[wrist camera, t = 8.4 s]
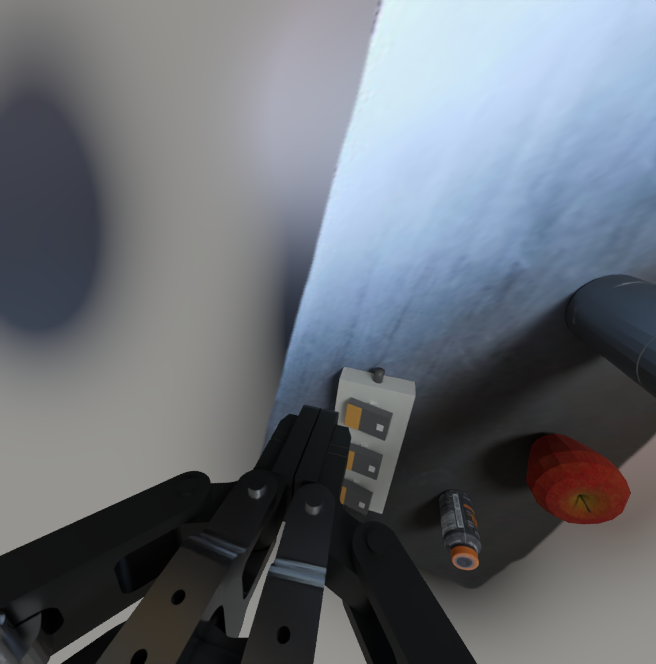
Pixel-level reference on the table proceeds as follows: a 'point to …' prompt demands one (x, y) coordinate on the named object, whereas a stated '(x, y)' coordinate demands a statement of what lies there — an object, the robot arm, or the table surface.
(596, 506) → the apple
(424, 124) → the table surface
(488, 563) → the table surface
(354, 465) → the block
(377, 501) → the power strip
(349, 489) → the rocker
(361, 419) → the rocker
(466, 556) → the pill bottle
